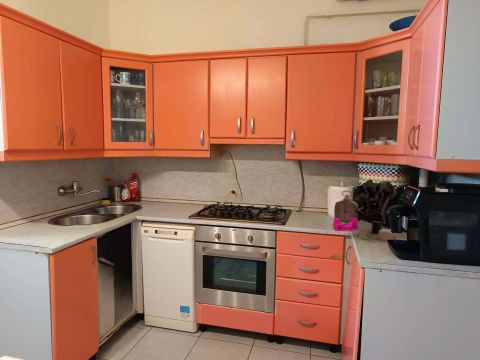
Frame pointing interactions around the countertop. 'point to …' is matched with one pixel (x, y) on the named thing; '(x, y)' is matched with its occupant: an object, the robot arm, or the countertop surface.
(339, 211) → the tabletop clock
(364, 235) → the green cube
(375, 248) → the countertop surface
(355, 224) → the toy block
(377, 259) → the countertop surface
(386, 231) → the tower top
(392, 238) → the tower base
